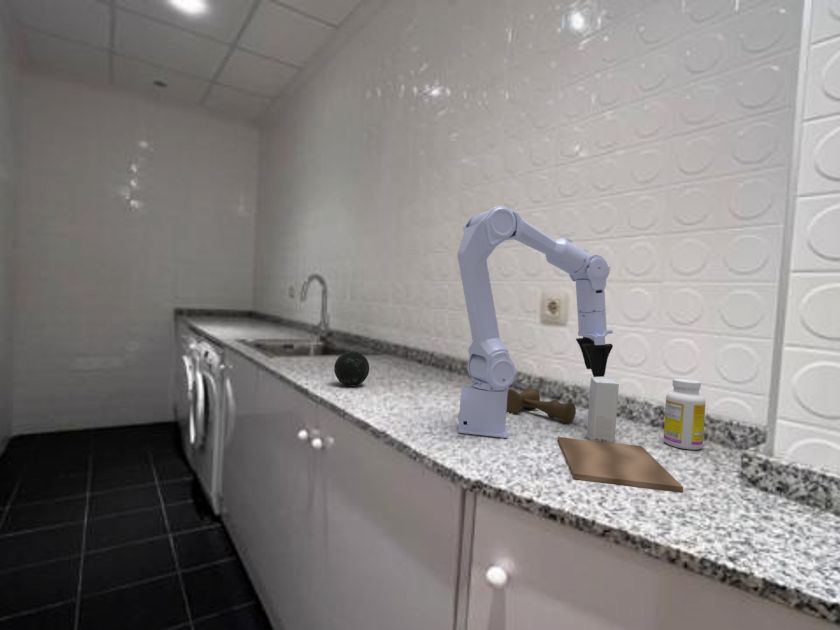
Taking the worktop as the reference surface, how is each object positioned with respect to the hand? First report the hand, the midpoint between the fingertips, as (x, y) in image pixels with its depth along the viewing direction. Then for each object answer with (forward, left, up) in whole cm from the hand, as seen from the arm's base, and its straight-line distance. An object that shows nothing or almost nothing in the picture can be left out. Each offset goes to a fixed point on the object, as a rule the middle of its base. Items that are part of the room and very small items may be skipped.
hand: (595, 372), depth 96 cm
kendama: (-12, +6, -12) cm, 19 cm away
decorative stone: (-62, +19, -12) cm, 67 cm away
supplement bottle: (+16, -8, -12) cm, 21 cm away
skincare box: (0, -11, -12) cm, 16 cm away
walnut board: (-1, -24, -12) cm, 27 cm away
